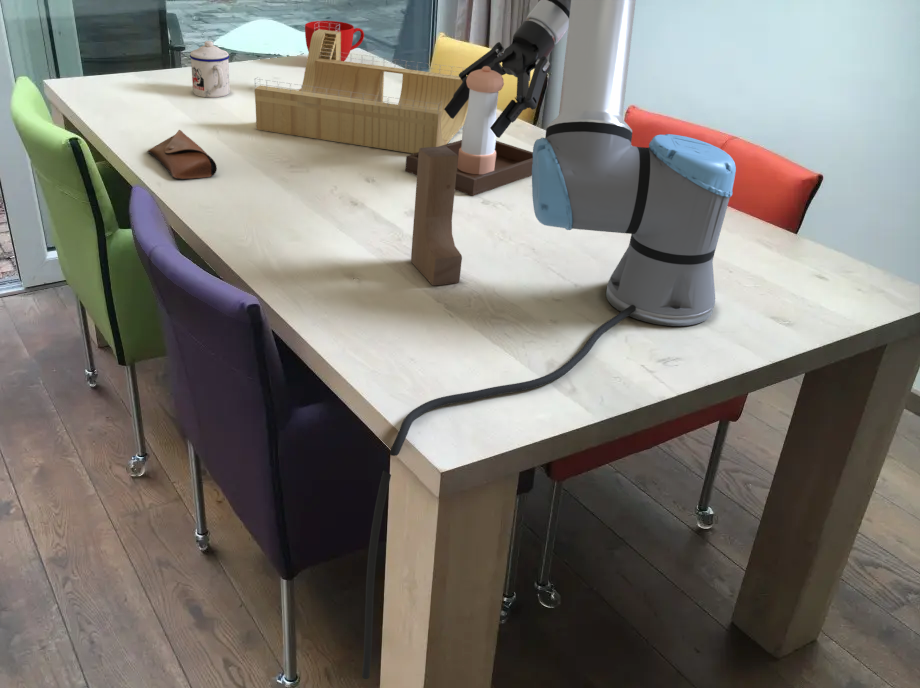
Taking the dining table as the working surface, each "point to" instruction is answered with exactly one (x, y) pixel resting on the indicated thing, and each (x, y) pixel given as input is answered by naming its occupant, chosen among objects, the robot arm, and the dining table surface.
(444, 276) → the wooden block
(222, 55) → the teacup with lid
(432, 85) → the skate ramp
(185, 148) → the sunglasses case
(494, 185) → the tray
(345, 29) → the ceramic cup
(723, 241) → the dining table surface
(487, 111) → the pepper shaker
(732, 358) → the dining table surface
